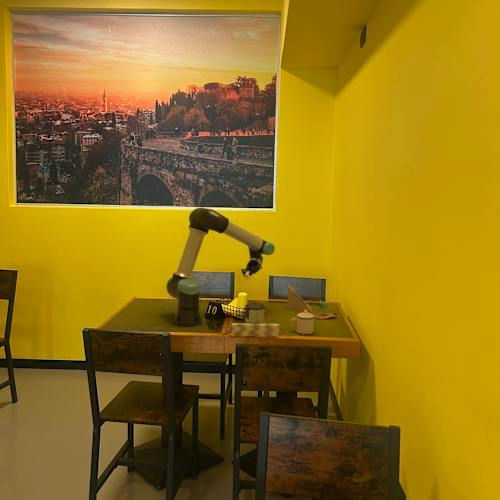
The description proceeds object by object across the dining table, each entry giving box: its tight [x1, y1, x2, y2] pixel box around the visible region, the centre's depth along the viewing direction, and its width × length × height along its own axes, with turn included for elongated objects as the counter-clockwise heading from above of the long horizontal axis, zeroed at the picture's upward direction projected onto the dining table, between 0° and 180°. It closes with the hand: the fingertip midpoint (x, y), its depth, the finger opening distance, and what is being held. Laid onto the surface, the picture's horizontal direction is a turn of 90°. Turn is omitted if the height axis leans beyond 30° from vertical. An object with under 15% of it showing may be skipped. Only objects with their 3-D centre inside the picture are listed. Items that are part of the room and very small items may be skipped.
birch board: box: [231, 322, 280, 338], centre depth 239 cm, size 24×3×6 cm, turn 91°
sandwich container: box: [286, 284, 313, 312], centre depth 292 cm, size 9×15×15 cm, turn 86°
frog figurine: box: [313, 294, 340, 320], centre depth 275 cm, size 10×18×15 cm, turn 77°
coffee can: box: [244, 302, 266, 324], centre depth 244 cm, size 10×10×14 cm
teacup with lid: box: [290, 310, 315, 335], centre depth 246 cm, size 12×9×12 cm
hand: (246, 276), depth 260 cm, fingers closed
